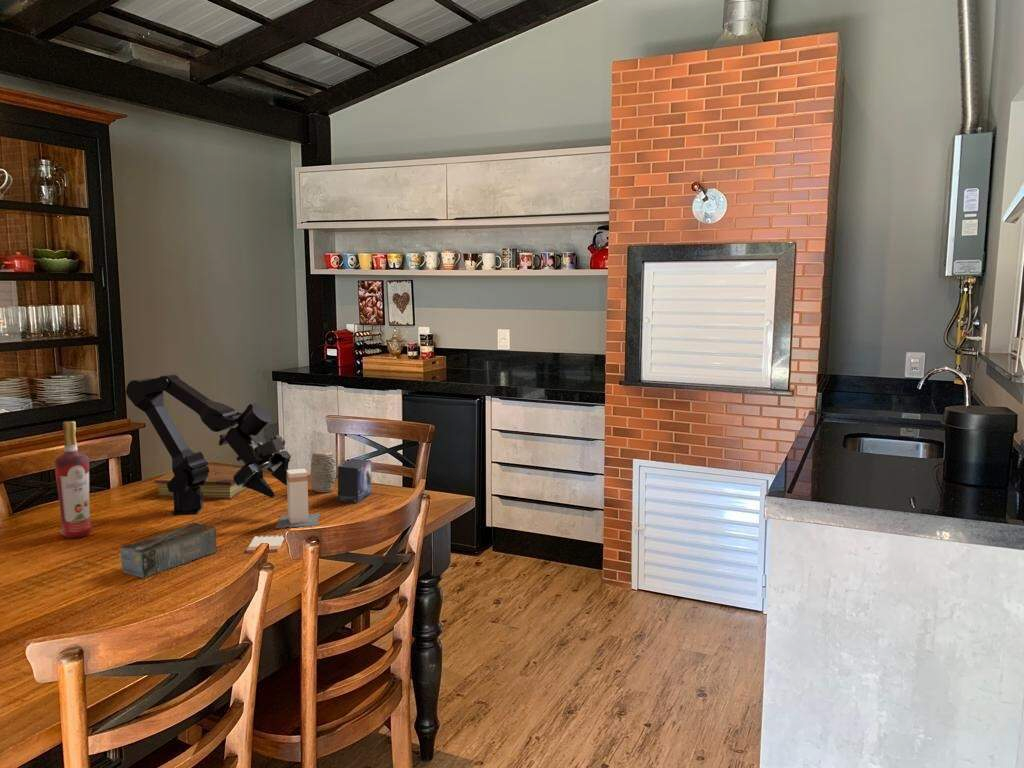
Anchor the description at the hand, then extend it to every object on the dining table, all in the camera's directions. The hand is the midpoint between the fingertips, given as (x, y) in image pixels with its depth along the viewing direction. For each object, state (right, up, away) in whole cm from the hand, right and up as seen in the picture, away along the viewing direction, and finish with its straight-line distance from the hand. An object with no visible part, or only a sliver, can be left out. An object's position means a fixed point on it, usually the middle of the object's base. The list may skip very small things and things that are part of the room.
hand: (283, 492), depth 198 cm
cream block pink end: (+1, -10, -18) cm, 21 cm away
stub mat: (+4, -8, 0) cm, 9 cm away
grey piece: (-16, -12, -29) cm, 35 cm away
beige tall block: (+4, -7, 0) cm, 8 cm away
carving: (+3, -4, +30) cm, 30 cm away
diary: (-31, -4, +30) cm, 44 cm away
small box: (+14, -5, +22) cm, 27 cm away
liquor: (-47, -9, -12) cm, 49 cm away
